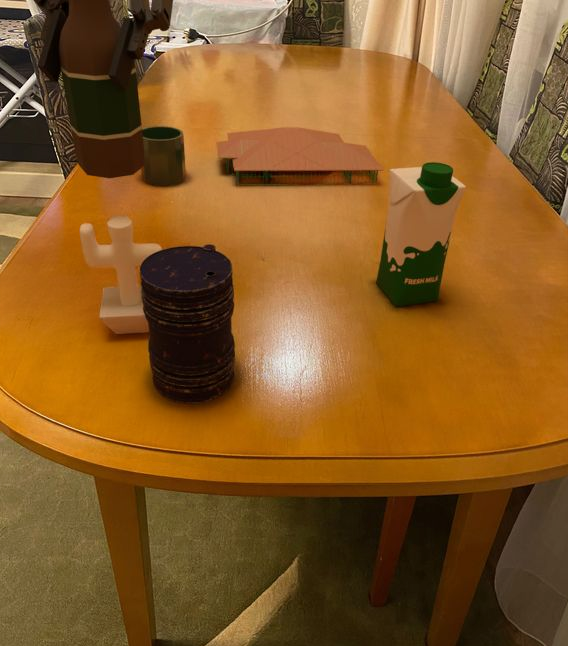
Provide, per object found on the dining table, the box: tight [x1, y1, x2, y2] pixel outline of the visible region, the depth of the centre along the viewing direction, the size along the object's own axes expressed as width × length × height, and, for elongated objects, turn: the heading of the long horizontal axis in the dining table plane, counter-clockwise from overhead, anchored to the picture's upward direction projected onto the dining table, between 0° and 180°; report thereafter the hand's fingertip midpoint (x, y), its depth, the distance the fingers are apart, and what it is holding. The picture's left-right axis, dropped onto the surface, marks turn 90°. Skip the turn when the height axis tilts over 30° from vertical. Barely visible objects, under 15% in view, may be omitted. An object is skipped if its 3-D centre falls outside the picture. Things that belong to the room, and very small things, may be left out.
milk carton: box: [375, 161, 467, 308], centre depth 86 cm, size 9×9×20 cm
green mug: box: [140, 125, 187, 188], centre depth 120 cm, size 12×9×9 cm
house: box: [215, 126, 384, 186], centre depth 129 cm, size 23×33×8 cm
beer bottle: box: [58, 0, 145, 179], centre depth 65 cm, size 8×8×24 cm
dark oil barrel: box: [138, 243, 236, 404], centre depth 67 cm, size 10×10×18 cm
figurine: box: [79, 214, 163, 335], centre depth 76 cm, size 7×9×15 cm
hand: (82, 78), depth 63 cm, fingers closed on beer bottle, 7 cm apart
